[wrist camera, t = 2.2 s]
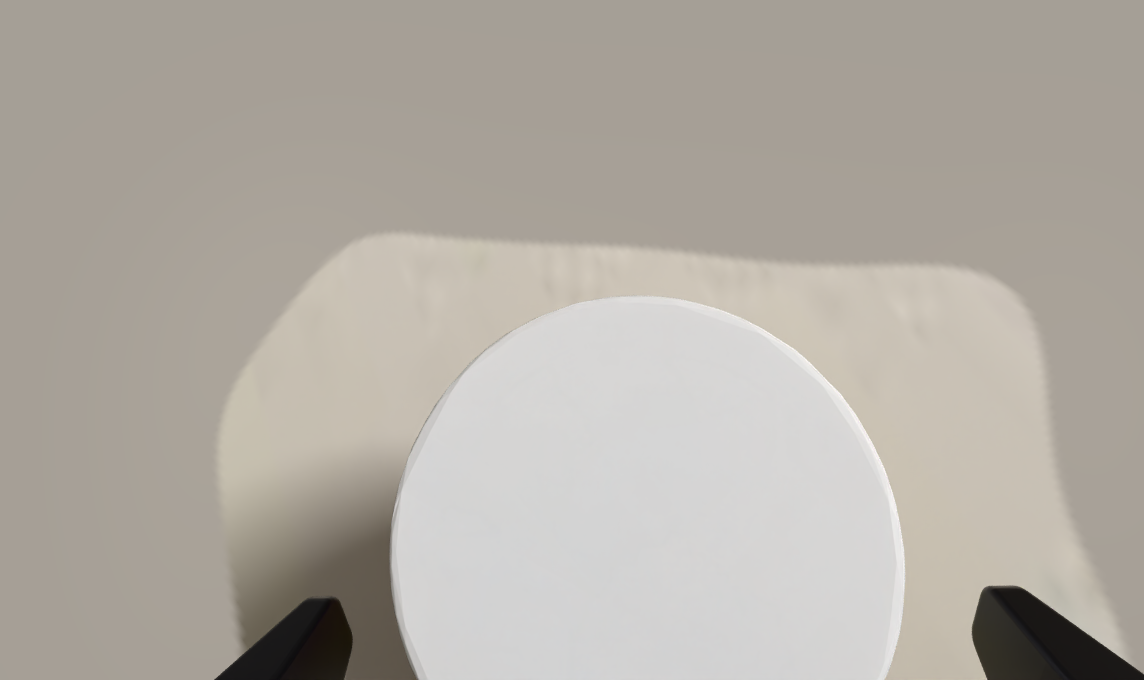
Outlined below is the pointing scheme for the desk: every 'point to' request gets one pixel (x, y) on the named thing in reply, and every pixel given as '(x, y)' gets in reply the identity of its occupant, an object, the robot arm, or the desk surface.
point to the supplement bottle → (645, 509)
